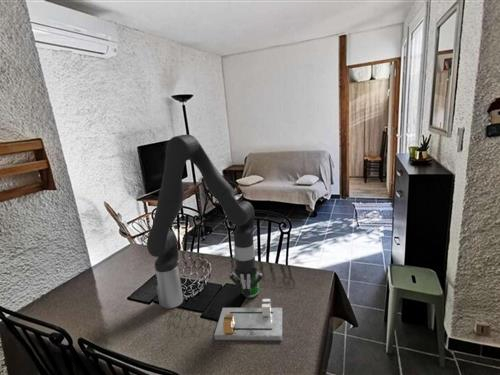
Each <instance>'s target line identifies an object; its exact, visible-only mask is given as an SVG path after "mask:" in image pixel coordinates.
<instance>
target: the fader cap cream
mask: <svg viewBox="0 0 500 375" xmlns="http://www.w3.org/2000/svg"><path fill="white" fill-rule="evenodd" d="M271 302H272V301H271V298H262V301H261V308H262V316H270V315H271V308H272V304H271Z"/></svg>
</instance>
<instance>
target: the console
mask: <svg viewBox="0 0 500 375" xmlns="http://www.w3.org/2000/svg"><path fill="white" fill-rule="evenodd" d="M225 314H234V322H235V324H234V328H233V332H232V333H224V328H223V321H224V317H225ZM213 335H214V340H218V341H219V340H222V341H223V340H226V341H229V340H230V341H231V340H232V341H283V307H271V315H270V316H262V307H222V310H221V312H220V315H219V318H218V322H217V324H216V328H215V332H214V334H213Z"/></svg>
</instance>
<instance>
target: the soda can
mask: <svg viewBox="0 0 500 375" xmlns="http://www.w3.org/2000/svg"><path fill="white" fill-rule="evenodd" d="M255 278H256V275H255V276H254V277H253V279H252V280H251V282H253V281H254V279H255ZM246 286H247V280H246ZM259 292H260V286H259V283H258V284H257V285H256V286H255V287H254V288H253V287H252V288H251V295H250V296H249V297H248V298H254V297H256V296H257V295H258V294H259ZM241 294H243V288H242V287H241Z"/></svg>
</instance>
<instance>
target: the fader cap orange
mask: <svg viewBox="0 0 500 375" xmlns="http://www.w3.org/2000/svg"><path fill="white" fill-rule="evenodd" d="M234 324H235V322H234V314H225V317H224V321H223V328H224V333H232V332H233V328H234Z"/></svg>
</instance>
